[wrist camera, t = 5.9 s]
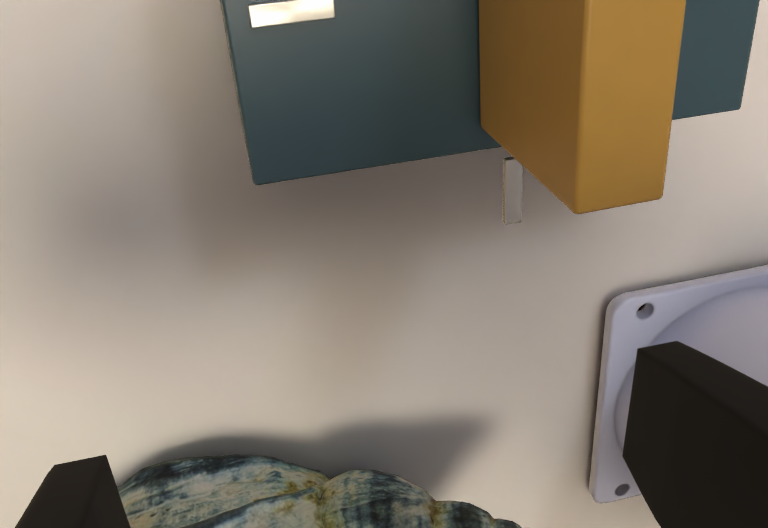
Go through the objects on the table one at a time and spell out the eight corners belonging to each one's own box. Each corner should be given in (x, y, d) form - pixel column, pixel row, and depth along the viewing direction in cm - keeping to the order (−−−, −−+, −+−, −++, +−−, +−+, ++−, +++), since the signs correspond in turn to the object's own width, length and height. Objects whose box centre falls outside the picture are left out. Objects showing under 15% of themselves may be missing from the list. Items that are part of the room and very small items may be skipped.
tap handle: (548, 116, 14) (673, 207, 10) (479, 128, 14) (582, 224, 10) (558, -190, 11) (728, -211, 8) (474, -182, 11) (608, -201, 8)
